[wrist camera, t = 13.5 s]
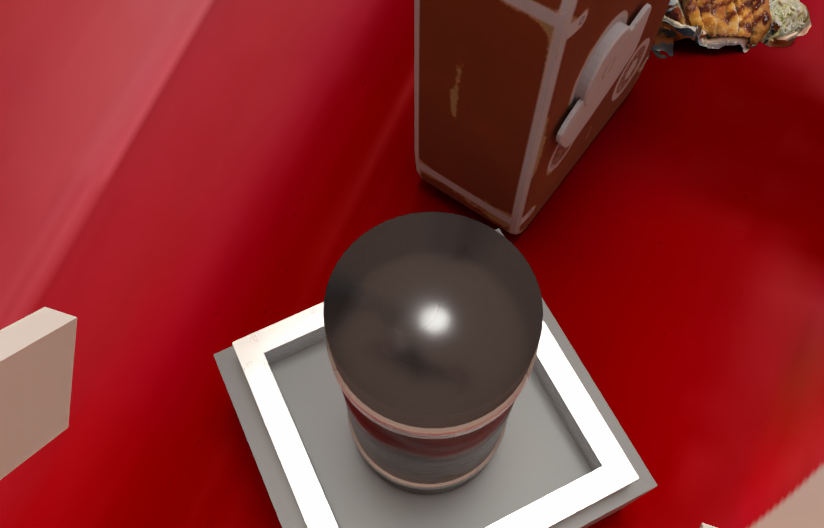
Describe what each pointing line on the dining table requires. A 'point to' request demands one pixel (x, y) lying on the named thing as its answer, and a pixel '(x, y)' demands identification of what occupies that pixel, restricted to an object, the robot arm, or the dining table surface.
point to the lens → (431, 345)
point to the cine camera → (520, 93)
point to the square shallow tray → (414, 513)
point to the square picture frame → (525, 524)
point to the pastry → (731, 23)
